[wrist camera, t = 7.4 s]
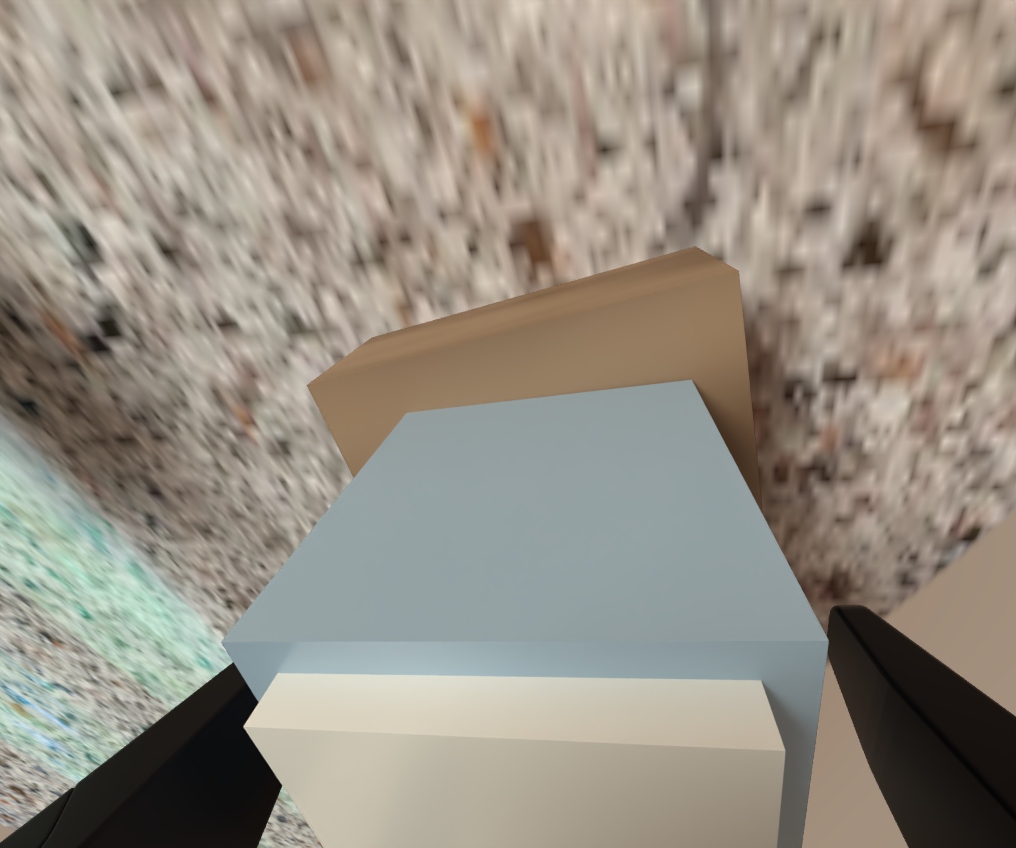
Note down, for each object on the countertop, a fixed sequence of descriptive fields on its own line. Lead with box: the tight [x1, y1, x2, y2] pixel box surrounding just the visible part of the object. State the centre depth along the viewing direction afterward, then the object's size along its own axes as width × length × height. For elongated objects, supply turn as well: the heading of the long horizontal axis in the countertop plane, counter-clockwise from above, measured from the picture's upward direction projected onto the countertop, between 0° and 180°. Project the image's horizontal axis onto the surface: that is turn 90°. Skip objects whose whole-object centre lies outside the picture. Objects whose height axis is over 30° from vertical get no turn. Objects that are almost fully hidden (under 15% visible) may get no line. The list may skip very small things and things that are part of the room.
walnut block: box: [307, 246, 763, 514], centre depth 13 cm, size 9×9×4 cm
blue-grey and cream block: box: [221, 380, 829, 848], centre depth 8 cm, size 6×6×7 cm
